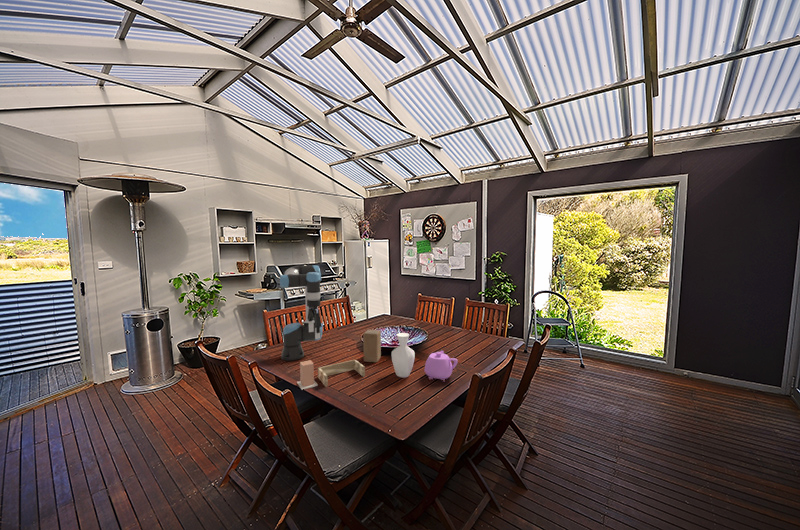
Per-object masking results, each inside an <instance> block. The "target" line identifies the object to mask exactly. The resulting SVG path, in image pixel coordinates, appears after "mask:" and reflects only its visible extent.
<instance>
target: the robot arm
mask: <svg viewBox="0 0 800 530" xmlns="http://www.w3.org/2000/svg"><path fill="white" fill-rule="evenodd" d="M279 276H280V277H279V286H280V288H282V289H283V288H285V289H287V288H304V289H305V290H304V291H305V294H304V295H305V298H304V299H305V320H304V321H303V324H301V323H300V322H293V323H289V324H287V325H285V326H284V327H283V331H282V334H283V337H282V339H283V348H282V351H281V355H280V358H281V360H282V361H286V362H293V361H298V360H300V359H303V358H304V356H305V351H304V349H303V346H302V342H311V341H313V342H315V341H319V340H321V339H322V336H323V329H324V328H323V327H324V323H322V321H321V315H320V314H321V313H320V309H319V306H321V281H322V274H321V269H320V265H313V264H311V265H307V264H306V265H294V266H291V267H289V268H287V269H286V270H285V271H284V273H283V274H282V275H279Z"/></svg>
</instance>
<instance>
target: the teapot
mask: <svg viewBox="0 0 800 530" xmlns="http://www.w3.org/2000/svg"><path fill="white" fill-rule="evenodd" d="M452 361H453V363H452ZM457 365H458V359H457V358H454V357H453V358H452V357H451V358H450V356H449V355H448V354H446V353H444V350H440V351H436V352H432V353H430V354H429V356H428V358H427V360H426V361H425V364H424V373H425V374H426V376H428V379H429V378H430V379H429V380H431V379H432V380H434V379H438V380H440V381H441V380H445V379H446V380H447V379H449V378H450V376H451V375H452V373H453V370H455V368H456V366H457ZM433 378H434V379H433Z"/></svg>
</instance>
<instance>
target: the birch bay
mask: <svg viewBox="0 0 800 530" xmlns="http://www.w3.org/2000/svg"><path fill="white" fill-rule="evenodd" d="M349 371H355V372H357V373H358V374H359V375H361V377H363V378H364V377H366V366H365V365H363V364H362V363H360V362H359V361H358V360H357V359H354V358H353V359H351V360H346V361H343V362H341V361H340V362H338V363H333V364H329V365H324V366H320V367H317V378H318V379H319V381H320V382H321V383H322V385H323V386H324V387H325V388H326V387H328V385H329V383H328V382H329V381H328V379H329V378H328V377H329V376H335V375H337V374H341V373H345V372H346V373H347V372H349Z"/></svg>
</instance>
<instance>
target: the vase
mask: <svg viewBox="0 0 800 530" xmlns="http://www.w3.org/2000/svg"><path fill="white" fill-rule="evenodd" d="M396 336H397V339H398V343H399V345H398V346H397V347H395V348H394V349H393V350H392V351H391V361H392V365H393V368H394V372H395V375H396V376H397V377H399V378H408V377H409V376H410V374H411V372H412V370H413V368H414V363H415V356H416V355H415V354H416V353H415V350H413V348H410V347H409V346H408V345H407V344H408V343H409V337H410V334H409V333H406V332H399V333H397V334H396Z"/></svg>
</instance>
